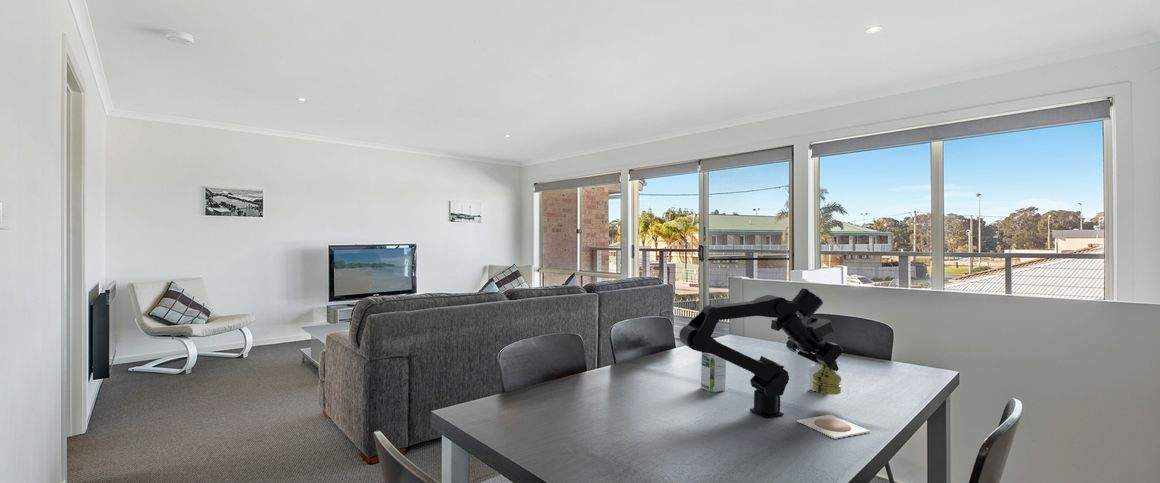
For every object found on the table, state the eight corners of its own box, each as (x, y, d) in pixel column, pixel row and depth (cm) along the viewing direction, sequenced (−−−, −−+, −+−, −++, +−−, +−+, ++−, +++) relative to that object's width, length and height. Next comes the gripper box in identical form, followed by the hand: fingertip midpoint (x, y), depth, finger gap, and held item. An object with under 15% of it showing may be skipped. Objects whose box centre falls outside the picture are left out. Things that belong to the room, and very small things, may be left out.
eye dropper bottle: (819, 388, 162) (819, 351, 162) (830, 393, 157) (830, 355, 156) (806, 388, 161) (807, 352, 161) (817, 394, 156) (818, 356, 156)
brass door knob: (815, 385, 147) (816, 351, 147) (843, 390, 142) (844, 355, 142) (809, 391, 141) (809, 356, 141) (837, 397, 136) (838, 360, 136)
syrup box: (700, 387, 161) (700, 343, 161) (714, 385, 164) (715, 342, 163) (711, 393, 156) (712, 347, 156) (726, 390, 158) (726, 345, 158)
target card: (834, 439, 121) (834, 437, 121) (796, 422, 132) (796, 419, 132) (869, 432, 126) (869, 430, 126) (830, 416, 137) (830, 414, 137)
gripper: (837, 314, 131) (873, 355, 133) (796, 304, 150) (828, 340, 152) (809, 345, 130) (846, 385, 132) (771, 331, 149) (804, 366, 150)
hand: (831, 367), depth 142 cm, fingers closed on brass door knob, 5 cm apart
